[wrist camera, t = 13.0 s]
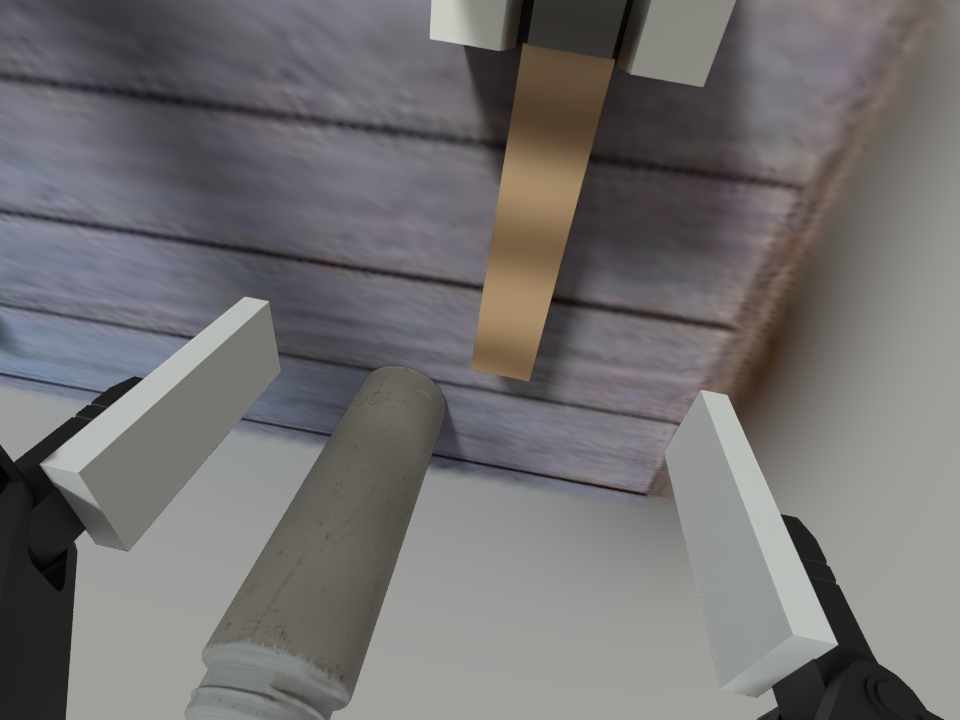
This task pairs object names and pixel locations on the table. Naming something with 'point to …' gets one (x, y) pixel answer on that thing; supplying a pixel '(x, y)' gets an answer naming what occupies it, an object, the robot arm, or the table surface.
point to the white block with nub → (646, 44)
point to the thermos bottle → (326, 563)
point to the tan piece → (543, 174)
